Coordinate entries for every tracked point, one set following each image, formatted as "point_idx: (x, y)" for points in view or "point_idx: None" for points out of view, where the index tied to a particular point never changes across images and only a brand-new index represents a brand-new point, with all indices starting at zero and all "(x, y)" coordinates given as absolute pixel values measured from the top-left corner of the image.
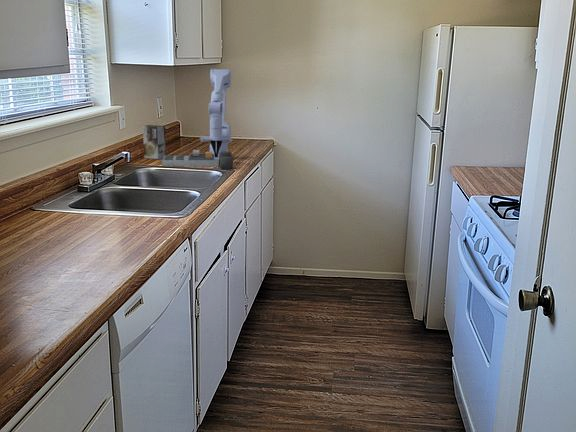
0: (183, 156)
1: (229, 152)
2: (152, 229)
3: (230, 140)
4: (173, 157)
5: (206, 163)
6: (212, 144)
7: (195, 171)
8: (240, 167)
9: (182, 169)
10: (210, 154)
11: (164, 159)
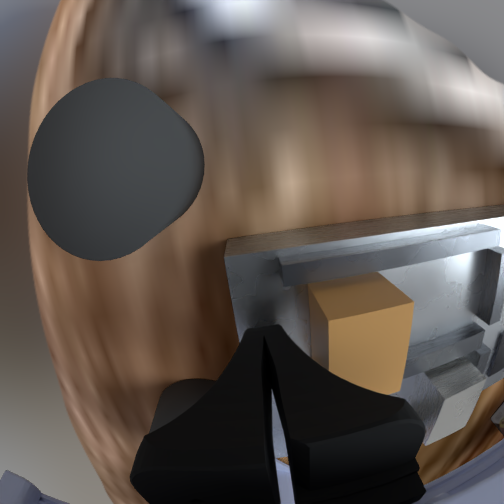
0: (501, 348)
1: None
2: None
3: (8, 490)
4: None
5: (354, 228)
6: (377, 408)
7: (387, 11)
8: (48, 237)
9: (477, 96)
10: (346, 307)
11: None
